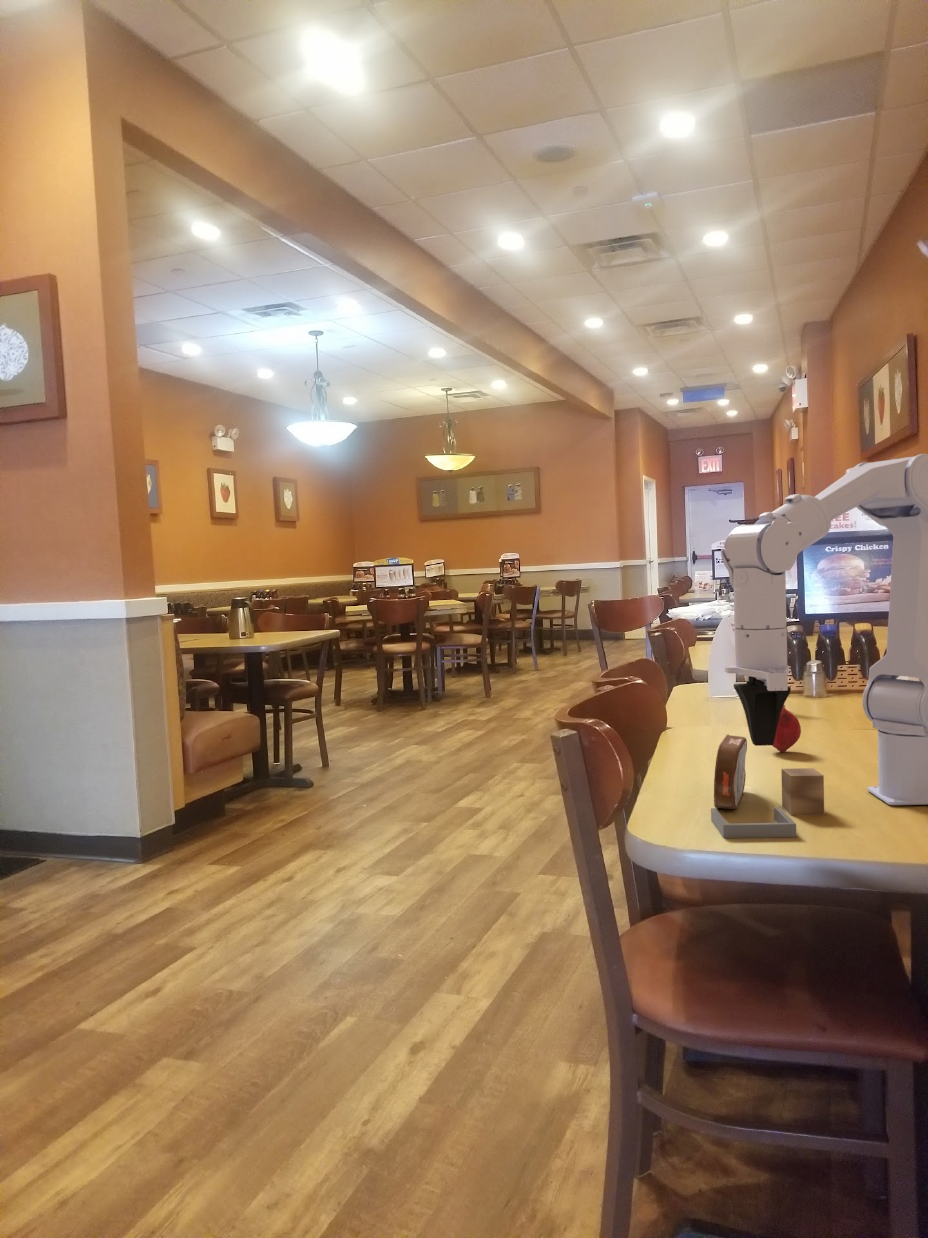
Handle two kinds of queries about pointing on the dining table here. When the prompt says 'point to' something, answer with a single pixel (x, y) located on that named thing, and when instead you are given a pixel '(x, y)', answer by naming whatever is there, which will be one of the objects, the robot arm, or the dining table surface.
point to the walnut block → (803, 791)
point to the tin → (730, 772)
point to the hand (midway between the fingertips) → (762, 744)
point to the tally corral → (755, 826)
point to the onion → (786, 731)
